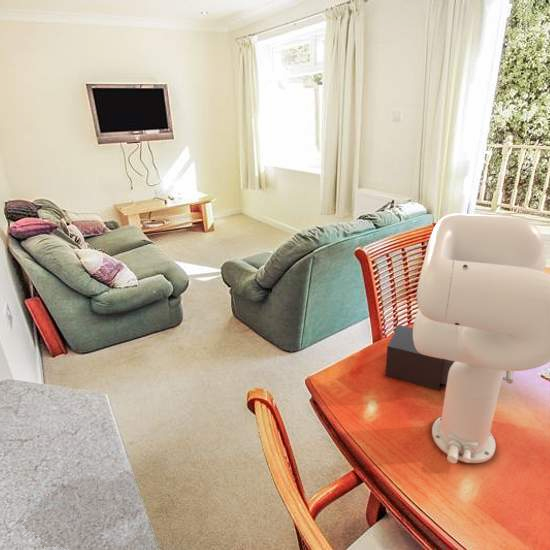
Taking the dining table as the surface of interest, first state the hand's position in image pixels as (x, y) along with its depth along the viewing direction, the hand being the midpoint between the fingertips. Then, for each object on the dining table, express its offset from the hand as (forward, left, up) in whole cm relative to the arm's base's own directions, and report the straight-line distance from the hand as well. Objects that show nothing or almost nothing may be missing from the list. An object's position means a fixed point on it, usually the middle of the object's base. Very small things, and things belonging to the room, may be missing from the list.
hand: (470, 348), depth 94 cm
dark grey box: (0, +12, -11) cm, 17 cm away
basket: (0, -1, -10) cm, 10 cm away
